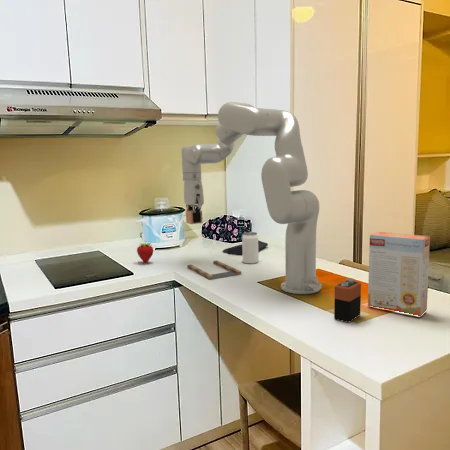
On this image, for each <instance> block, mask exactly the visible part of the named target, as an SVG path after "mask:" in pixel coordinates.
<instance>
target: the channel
mask: <svg viewBox="0 0 450 450" xmlns="http://www.w3.org/2000/svg"><path fill="white" fill-rule="evenodd" d="M213 265H215V266H218V267H219V268H221V269H224V270H226V271H225V272H218V273H211V274H210V273H208V272H206V271H204V270H202V269H200V268H199V267H196V266H194V265H193V264H187V265H186V268H187V269H189V270H190V271H191V272H194V273H196V274H198V275H199V276H200V277H201V276H202V277H203V278H205V279H207V280H209V281H212V280H217V279H223V278H230V277H235V276H240V275H242V270H239V269H237V268H235V267H232V266H230V265H228V264H226V263H223V262H221V261H219V260H213Z"/></svg>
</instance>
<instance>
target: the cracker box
mask: <svg viewBox="0 0 450 450" xmlns="http://www.w3.org/2000/svg"><path fill="white" fill-rule="evenodd" d="M430 241H431V236H428V235H419V234H407V233H396V232H386V231H385V232H383V231H376V232H374V233H370V234H369V246H368V247H369V248H368V249H369V250H368V251H369V254H368V281H367V283H368V287H367V291H368V292H367V307H368V306H373V307H379V308H384V309H389V310H394V311H399V312H404V313H409V314H413V315H418V316H421V315H422V314H423V313H424V312H425V311H426V310H428V292H429V268H430V248H431V247H430V245H431V243H430Z"/></svg>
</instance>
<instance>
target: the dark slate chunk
mask: <svg viewBox="0 0 450 450" xmlns="http://www.w3.org/2000/svg"><path fill="white" fill-rule="evenodd" d="M268 245H269V244H268V243H267V242H264V241H261V240H259V239H258V252H260V251H262V250H264V249H265V248H267V247H268ZM221 253H222V254H227V255H231V256H238V257H239V256H240V257H241V256H242V257H243V253H242V244H238V245H235V246H230V247H227V248H224V249H223V250H222V252H221Z"/></svg>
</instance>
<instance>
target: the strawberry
mask: <svg viewBox="0 0 450 450" xmlns="http://www.w3.org/2000/svg"><path fill="white" fill-rule="evenodd" d="M144 242H145V243H140V245H139V246H138V247H137V248H136V253H137V255H138V257H139V258H140V259H141V260H142V262H143V263H144V264H147V263H149V261H150V259H151V258H152V256H153V254H154V247H153V246H152V242H150V243H149V242H148V243H147V241H144Z"/></svg>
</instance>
